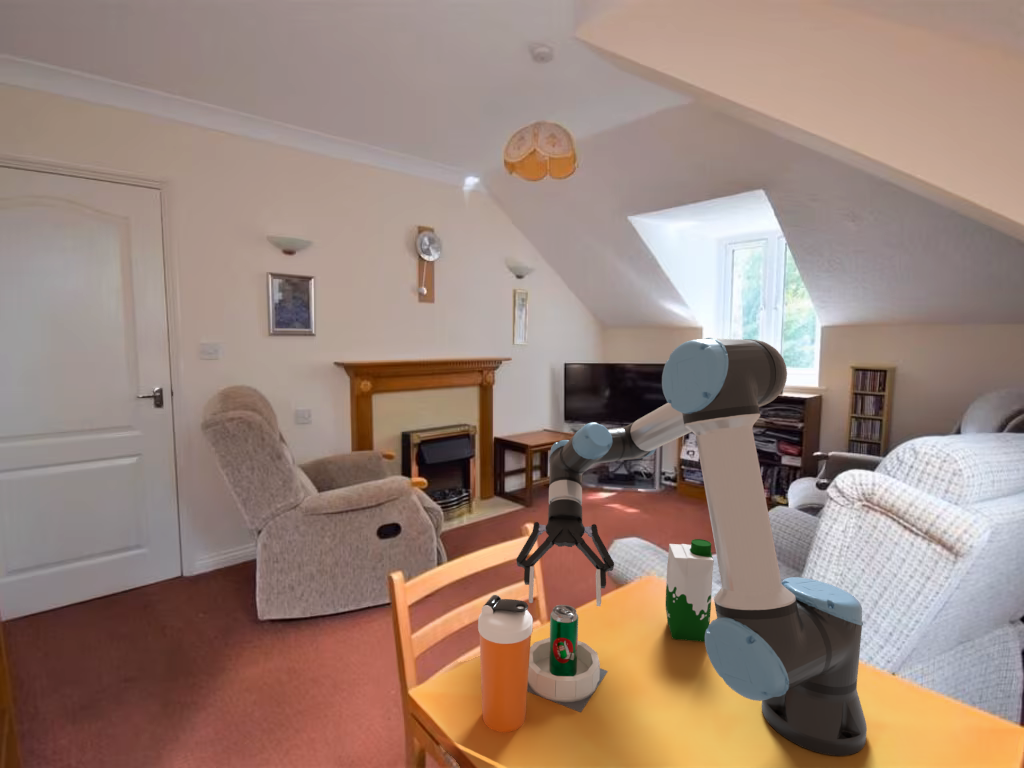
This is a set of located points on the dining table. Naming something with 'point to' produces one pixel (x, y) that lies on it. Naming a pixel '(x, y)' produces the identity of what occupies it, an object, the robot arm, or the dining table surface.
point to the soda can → (563, 641)
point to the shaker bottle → (504, 662)
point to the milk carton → (689, 589)
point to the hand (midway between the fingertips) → (564, 602)
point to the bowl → (563, 685)
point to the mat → (577, 704)
